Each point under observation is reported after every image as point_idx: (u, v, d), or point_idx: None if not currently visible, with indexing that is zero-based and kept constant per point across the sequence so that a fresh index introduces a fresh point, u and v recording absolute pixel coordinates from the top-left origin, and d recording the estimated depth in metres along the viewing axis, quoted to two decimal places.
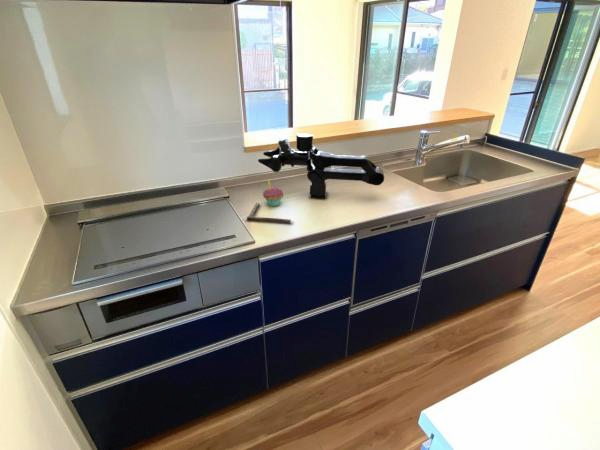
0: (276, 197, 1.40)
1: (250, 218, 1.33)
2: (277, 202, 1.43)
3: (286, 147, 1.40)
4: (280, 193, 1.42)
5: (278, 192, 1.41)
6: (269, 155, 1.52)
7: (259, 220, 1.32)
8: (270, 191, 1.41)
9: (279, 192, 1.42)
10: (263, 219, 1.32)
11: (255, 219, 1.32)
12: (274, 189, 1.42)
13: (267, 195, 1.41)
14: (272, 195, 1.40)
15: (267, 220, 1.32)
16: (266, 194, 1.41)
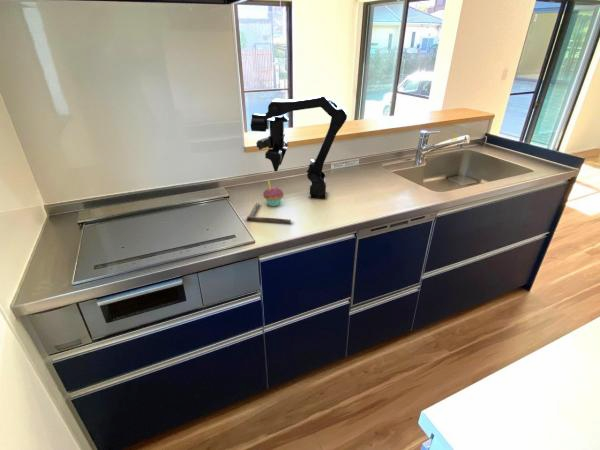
0: (276, 197, 1.40)
1: (250, 218, 1.33)
2: (277, 202, 1.43)
3: (260, 142, 1.40)
4: (280, 193, 1.42)
5: (278, 192, 1.41)
6: (281, 159, 1.51)
7: (259, 220, 1.32)
8: (270, 191, 1.41)
9: (279, 192, 1.42)
10: (263, 219, 1.32)
11: (255, 219, 1.32)
12: (274, 189, 1.42)
13: (267, 195, 1.41)
14: (272, 195, 1.40)
15: (267, 220, 1.32)
16: (266, 194, 1.41)
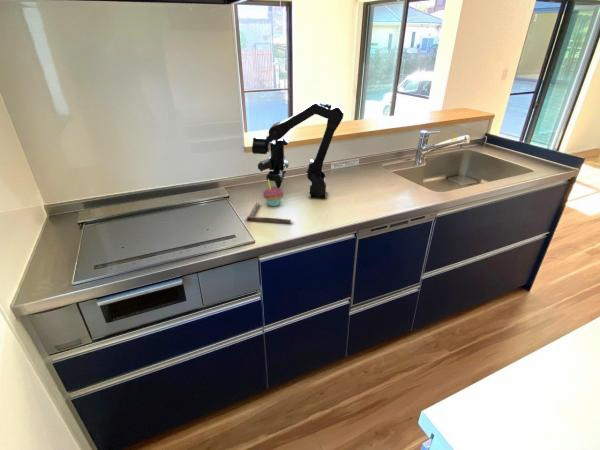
0: (276, 197, 1.40)
1: (250, 218, 1.33)
2: (277, 202, 1.43)
3: (261, 164, 1.45)
4: (280, 193, 1.42)
5: (278, 192, 1.41)
6: None
7: (259, 220, 1.32)
8: (270, 191, 1.41)
9: (279, 192, 1.42)
10: (263, 219, 1.32)
11: (255, 219, 1.32)
12: (274, 189, 1.42)
13: (267, 195, 1.41)
14: (272, 195, 1.40)
15: (267, 220, 1.32)
16: (266, 194, 1.41)
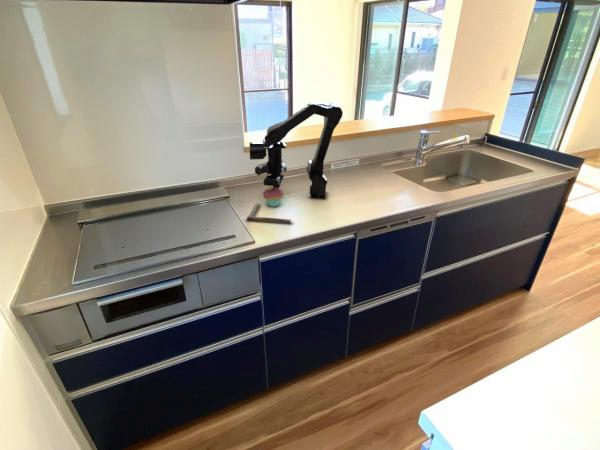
0: (276, 197, 1.40)
1: (250, 218, 1.33)
2: (277, 202, 1.43)
3: (258, 169, 1.41)
4: (280, 193, 1.42)
5: (278, 192, 1.41)
6: None
7: (259, 220, 1.32)
8: (270, 191, 1.41)
9: (279, 192, 1.42)
10: (263, 219, 1.32)
11: (255, 219, 1.32)
12: (274, 189, 1.42)
13: (267, 195, 1.40)
14: (272, 195, 1.40)
15: (267, 220, 1.32)
16: (266, 194, 1.41)
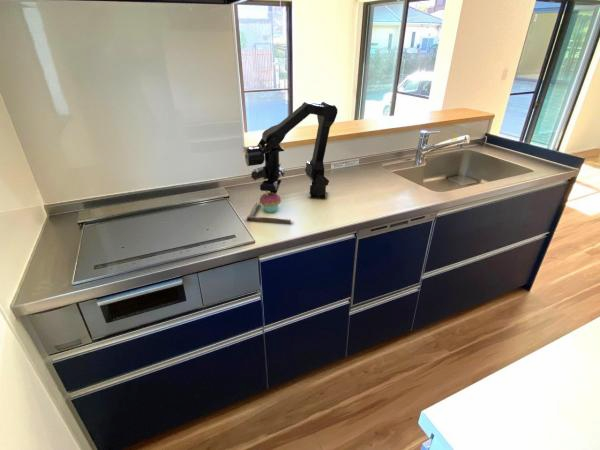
0: (273, 203, 1.36)
1: (250, 218, 1.33)
2: (274, 208, 1.39)
3: (255, 173, 1.36)
4: (277, 199, 1.37)
5: (275, 198, 1.37)
6: None
7: (259, 220, 1.32)
8: (267, 197, 1.36)
9: (276, 198, 1.37)
10: (263, 219, 1.32)
11: (255, 219, 1.32)
12: (271, 194, 1.37)
13: (264, 201, 1.36)
14: (269, 201, 1.35)
15: (267, 220, 1.32)
16: (263, 200, 1.36)
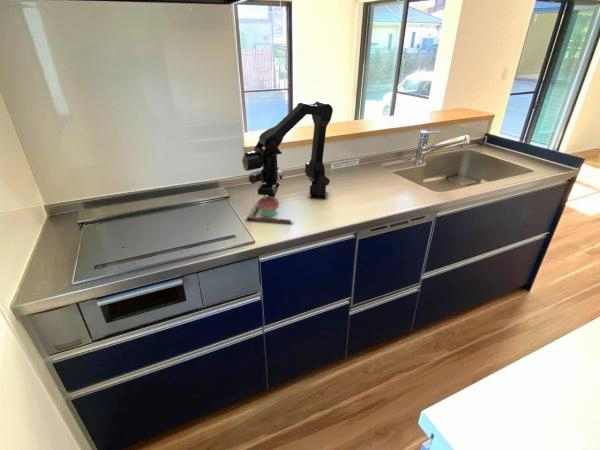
0: (271, 207, 1.33)
1: (250, 218, 1.33)
2: (272, 212, 1.36)
3: (252, 177, 1.33)
4: (275, 203, 1.34)
5: (273, 202, 1.33)
6: None
7: (259, 220, 1.32)
8: (265, 201, 1.33)
9: (274, 202, 1.34)
10: (263, 219, 1.32)
11: (255, 219, 1.32)
12: (269, 198, 1.34)
13: (261, 205, 1.33)
14: (267, 205, 1.32)
15: (267, 220, 1.32)
16: (260, 204, 1.33)
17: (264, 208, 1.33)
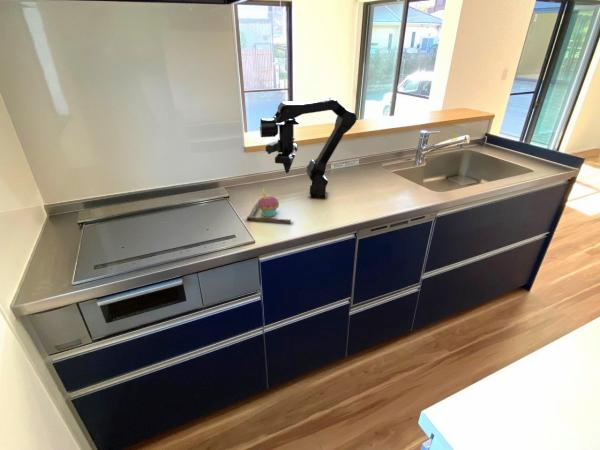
0: (271, 207, 1.33)
1: (250, 218, 1.33)
2: (272, 212, 1.36)
3: (269, 146, 1.36)
4: (275, 203, 1.34)
5: (273, 202, 1.33)
6: None
7: (259, 220, 1.32)
8: (265, 201, 1.33)
9: (274, 202, 1.34)
10: (263, 219, 1.32)
11: (255, 219, 1.32)
12: (269, 198, 1.34)
13: (261, 205, 1.33)
14: (267, 205, 1.32)
15: (267, 220, 1.32)
16: (260, 204, 1.33)
17: (264, 208, 1.33)
